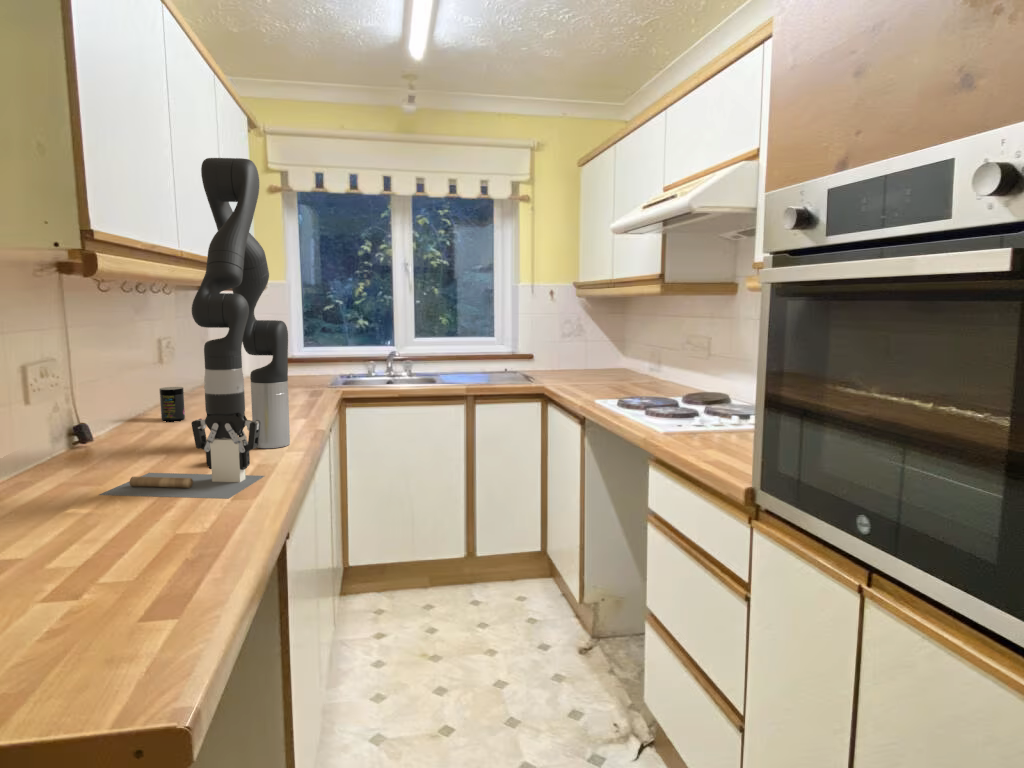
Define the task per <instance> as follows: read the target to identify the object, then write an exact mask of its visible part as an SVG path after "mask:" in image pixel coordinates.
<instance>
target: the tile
mask: <svg viewBox="0 0 1024 768" xmlns="http://www.w3.org/2000/svg"><path fill="white" fill-rule="evenodd" d="M242 442H243V440H242ZM210 448H211V467H212V469H211V474H212V482H241V481H243V480H245V479H246V475H247V474H246V469H244V470H240V460H239V453H240V451H239V443H237V444H235V443H234V442H233V440H232V439H228V438H216V439H215V440H214V441H213V444H212V443H210Z"/></svg>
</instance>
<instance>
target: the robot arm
mask: <svg viewBox="0 0 1024 768" xmlns="http://www.w3.org/2000/svg"><path fill="white" fill-rule="evenodd" d="M200 172H201V175H200V176H201V180H202V185H203V188H204V189H203V190H204V192H205V195H206V199H207V201H208V204H209V208H210V210H211V213H212V216H213V219H214V222H215V225H216V229H217V232H215V234H214V235H213V237H212V239H211V241H210V243H209V245H208V251H207V259H206V267H205V268H206V269H205V273H204V276H203V279H202V281H201V284H200V286H199V288H198V290H197V291H196V294H195V296H194V297H193V301H192V303H191V315H192V316H191V317H192V319H193V320H194V322H195V324H196V325H198V326H199V327H201V328H206V329H207V328H208V329H209V328H210V329H211V328H213V329H215V328H218V329H219V328H223V329H225V328H226V329H228V332H227V334H226V335H225V336H224V337H222V338H215V339H210V340H208V341H206V342H205V343H204V345H203V356H204V357H203V358H204V378H203V380H204V381H203V384H204V386H203V389H204V405H205V413H206V417H205V418H204V419H202V418H198V419H195V420H193V421H191V427H192V434H193V438H194V444H195V448H196V449H198V450H203V451H204V452H205V458H206V459H205V460H206V461H205V462H206V466H207V467H208V469H209V470H212V467H211V448H210V443H212V444H213V441H214V440H215V439H216V438H228V439H232V440H233V442H234V443H235V444H237V443H239V451H240V453H239V460H240V470H244V469H245V470H246V469H247V468H248V466H250V464H251V461H250V459H251V458H250V451H252V450H254V449H256V448H258V449H275V448H276V449H277V448H283V447H287V446H289V445H290V444H291V435H290V432H291V431H290V430H291V429H290V405H289V402H290V400H289V378H288V377H289V373H288V372H289V371H288V369H289V360H288V359H289V352H288V351H289V331H288V327H287V324H286V323H285V322H284V321H283V320H278V319H277V320H276V319H275V320H270V319H269V320H267V319H266V320H265V319H263V320H262V319H261V320H260V319H259V320H258V319H256V317H255V309H256V307H257V304H258V302H259V300H260V298H261V296H262V294H263V293H264V291H265V290H266V287H267V285H268V283H269V279H270V272H269V267H268V262H267V258H266V257H267V256H266V253H265V250H264V248H263V246H262V245H261V243H260V242H259V241H258V240H257V238H255V237H254V236H253V235H252V234H251V233H250V229H251V226H252V223H253V219H254V217H255V211H256V208H257V202H258V198H259V194H260V177H259V170H258V168H257V166H256V164H255V162H254V161H253V160H250V159H249V158H239V157H236V158H234V157H207V158H205V159H203V161H202V163H201V168H200ZM230 203H236V206H235V208H234V209H233V208H232V207H231V204H230ZM227 290H232V293H230V292H229V293H224V292H223V291H227ZM221 292H222V293H221ZM242 345H243V348H244V351H245V352H246V353H247V355H250V356H272V360H271V362H269V363H268V364H267V365H264V366H262V367H261V366H260V367H259V368H256V369H253V370H252V371H251V372H250V396H251V399H250V401H251V419H252V420H249V419H248V418H247V417H246V414H245V413H246V398H245V397H246V396H245V379H244V378H245V377H244V373H243V356H242ZM245 427H246V429H247V431H248V440H247V435H246V433H245V431H244V428H245ZM206 428H208V429H209V430H210V431H209V434H208V437H207V435H206ZM242 440H243V442H242Z"/></svg>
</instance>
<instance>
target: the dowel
mask: <svg viewBox="0 0 1024 768" xmlns="http://www.w3.org/2000/svg"><path fill="white" fill-rule="evenodd" d="M129 481H130V486H132V487H168V488H191V487H192V485H193V480H192V478H168V477H140V476H131V477H130V478H129Z"/></svg>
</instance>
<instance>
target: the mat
mask: <svg viewBox="0 0 1024 768" xmlns="http://www.w3.org/2000/svg"><path fill="white" fill-rule="evenodd" d="M139 477H168V478H192V480H193V485H192V487H191V488H168V487H132V486H130V480H129V481H127V482H124V483H122V484H120V485H117V486H115V487H113V488H111V489H108V490H105V491H103V492H101V493H99V494H98V496H113V497H114V496H118V497H121V496H122V497H148V498H149V497H151V498H152V497H153V498H154V497H155V498H187V499H193V498H194V499H222V500H223V499H225V500H227V499H228V500H229V499H231V498H232V497H234V496H235V495H237V494H239V493H241V492H242V491H244V490H245V489H247V488H248V487H250V486H252V485H253V484H255V483H257V482H258V481H259V480H262V478H265V475H256V474H255V475H253V474H251V475H250V474H246V479H245V480H243V481H241V482H212V473H211V474H210V473H209V474H207V473H179V472H178V473H174V472H173V473H172V472H171V473H170V472H148V473H145V474H144V475H141V476H139Z"/></svg>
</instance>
